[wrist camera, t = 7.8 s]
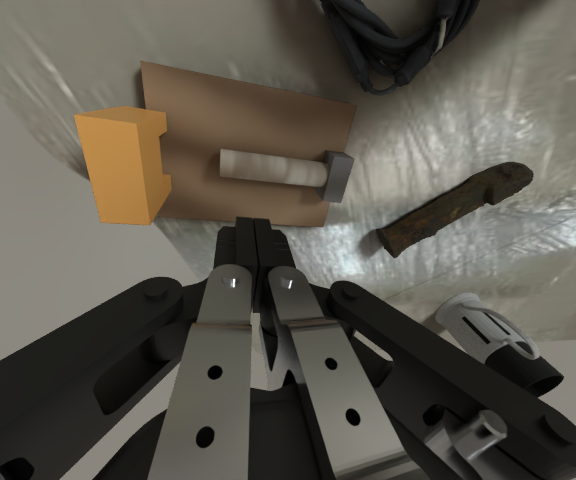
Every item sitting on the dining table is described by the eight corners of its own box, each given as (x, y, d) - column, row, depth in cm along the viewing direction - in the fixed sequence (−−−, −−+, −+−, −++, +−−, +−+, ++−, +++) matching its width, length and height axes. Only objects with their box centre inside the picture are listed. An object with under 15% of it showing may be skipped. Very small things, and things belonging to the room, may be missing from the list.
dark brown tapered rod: (379, 247, 35) (398, 267, 31) (372, 227, 33) (390, 246, 29) (506, 178, 33) (543, 191, 29) (507, 152, 30) (547, 162, 27)
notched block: (124, 105, 19) (73, 114, 13) (165, 112, 20) (136, 123, 14) (136, 186, 22) (100, 222, 16) (171, 189, 23) (149, 225, 17)
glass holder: (436, 330, 49) (504, 412, 37) (431, 287, 42) (516, 372, 29) (477, 312, 49) (560, 389, 36) (480, 265, 41) (587, 343, 28)
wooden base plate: (146, 62, 19) (127, 57, 16) (350, 104, 24) (369, 107, 20) (161, 210, 26) (150, 229, 22) (319, 221, 30) (330, 238, 27)
